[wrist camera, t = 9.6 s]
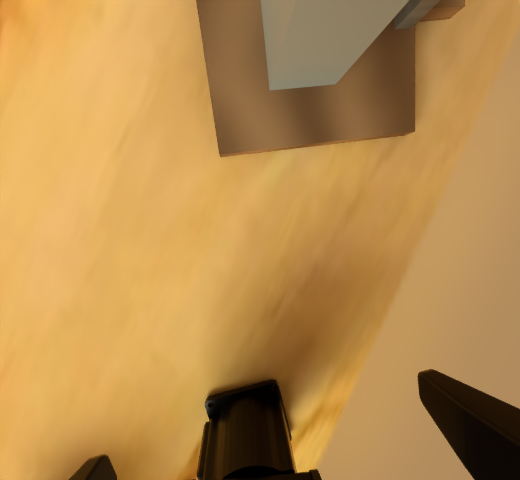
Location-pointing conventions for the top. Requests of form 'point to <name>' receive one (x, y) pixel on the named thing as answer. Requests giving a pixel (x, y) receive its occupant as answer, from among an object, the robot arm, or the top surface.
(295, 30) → the grey upright block
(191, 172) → the top surface
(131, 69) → the top surface
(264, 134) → the wooden l-bracket
